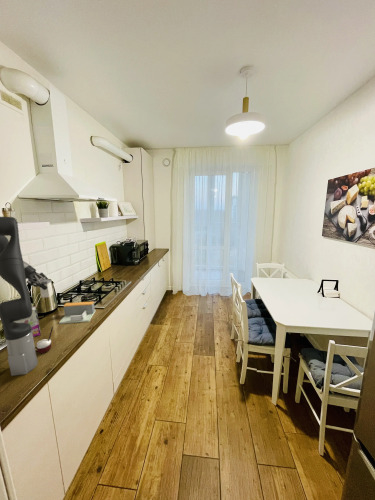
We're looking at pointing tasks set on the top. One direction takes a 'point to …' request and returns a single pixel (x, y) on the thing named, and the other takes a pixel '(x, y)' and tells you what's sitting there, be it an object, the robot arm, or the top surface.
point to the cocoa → (44, 345)
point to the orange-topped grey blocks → (78, 312)
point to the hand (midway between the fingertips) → (48, 287)
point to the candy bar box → (32, 322)
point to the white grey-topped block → (48, 291)
